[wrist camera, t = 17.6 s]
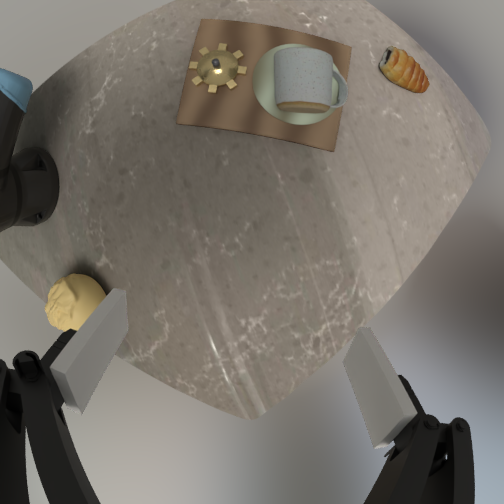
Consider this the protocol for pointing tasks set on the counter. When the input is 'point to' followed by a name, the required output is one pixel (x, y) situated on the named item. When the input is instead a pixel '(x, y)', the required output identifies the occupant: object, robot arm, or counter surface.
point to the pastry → (403, 70)
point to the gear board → (259, 85)
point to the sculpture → (73, 301)
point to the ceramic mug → (306, 80)
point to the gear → (218, 68)
